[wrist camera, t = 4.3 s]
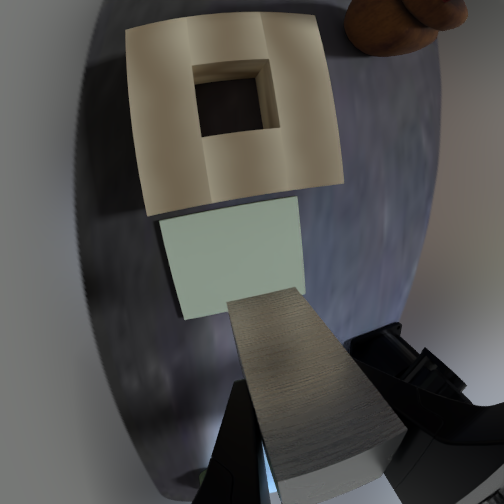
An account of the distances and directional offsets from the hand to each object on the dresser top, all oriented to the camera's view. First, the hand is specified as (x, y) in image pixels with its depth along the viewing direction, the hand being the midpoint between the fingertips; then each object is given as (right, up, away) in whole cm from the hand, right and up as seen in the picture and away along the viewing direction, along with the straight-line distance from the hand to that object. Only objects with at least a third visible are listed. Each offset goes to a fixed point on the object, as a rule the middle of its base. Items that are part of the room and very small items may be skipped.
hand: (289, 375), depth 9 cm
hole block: (-3, +14, +9) cm, 17 cm away
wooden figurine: (+9, +23, +8) cm, 26 cm away
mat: (-2, +4, +12) cm, 13 cm away
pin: (-1, +1, +3) cm, 4 cm away
